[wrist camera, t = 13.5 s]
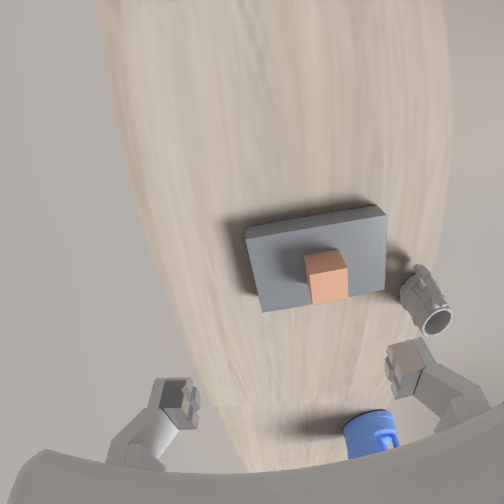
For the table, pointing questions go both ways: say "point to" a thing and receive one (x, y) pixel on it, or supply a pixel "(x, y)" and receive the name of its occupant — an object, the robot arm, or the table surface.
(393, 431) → the water jug
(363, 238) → the stand
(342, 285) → the cube
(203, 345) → the table surface
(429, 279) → the mug
